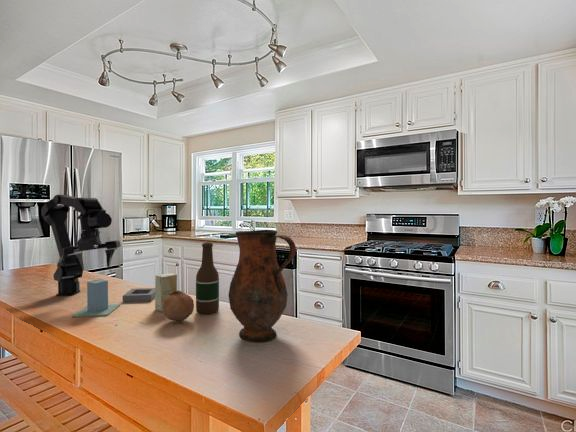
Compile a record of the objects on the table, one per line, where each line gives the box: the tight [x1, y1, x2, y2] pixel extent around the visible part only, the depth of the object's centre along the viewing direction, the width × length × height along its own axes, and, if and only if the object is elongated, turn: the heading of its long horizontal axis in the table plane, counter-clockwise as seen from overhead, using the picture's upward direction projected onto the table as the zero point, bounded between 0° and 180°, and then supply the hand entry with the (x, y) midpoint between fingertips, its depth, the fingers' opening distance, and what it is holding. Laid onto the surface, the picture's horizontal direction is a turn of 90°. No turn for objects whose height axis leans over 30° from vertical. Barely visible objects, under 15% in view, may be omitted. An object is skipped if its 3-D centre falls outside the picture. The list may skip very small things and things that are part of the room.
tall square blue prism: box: [86, 278, 109, 313], centre depth 111 cm, size 4×4×10 cm
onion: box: [162, 290, 195, 323], centre depth 101 cm, size 10×9×10 cm
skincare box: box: [154, 272, 178, 312], centre depth 114 cm, size 6×4×12 cm
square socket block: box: [122, 287, 155, 303], centre depth 127 cm, size 10×10×2 cm
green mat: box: [71, 303, 121, 318], centre depth 111 cm, size 11×11×1 cm
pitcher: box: [228, 229, 297, 343], centre depth 89 cm, size 17×21×30 cm
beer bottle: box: [195, 242, 220, 316], centre depth 111 cm, size 8×8×24 cm
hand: (95, 269), depth 125 cm, fingers open, 9 cm apart
